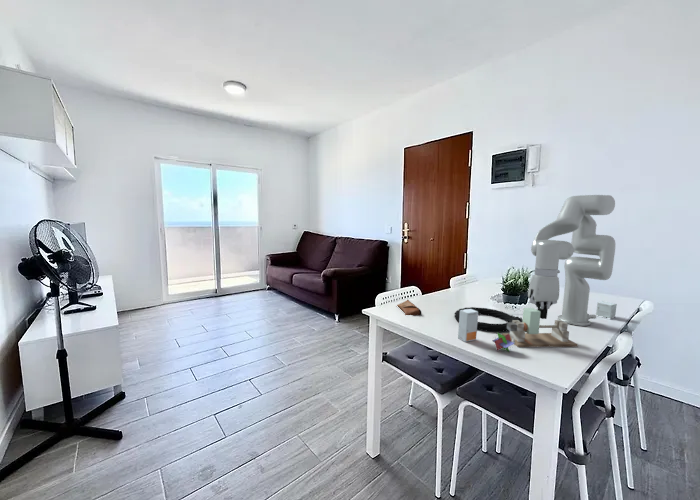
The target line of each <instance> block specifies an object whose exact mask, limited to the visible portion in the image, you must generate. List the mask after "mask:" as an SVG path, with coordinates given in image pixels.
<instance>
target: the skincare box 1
mask: <svg viewBox="0 0 700 500" xmlns="http://www.w3.org/2000/svg"><path fill="white" fill-rule="evenodd" d="M478 319H479V314H478V311H475V310H473V309H465V310H460V315H459V322H458V331H457V333H458V334H457V339H458V340H461V341H462V342H464V343H467V342H471V341H472V342H473V341H476V340H477V331H478V329H477V322H479V320H478Z"/></svg>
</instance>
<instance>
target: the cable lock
mask: <svg viewBox="0 0 700 500" xmlns="http://www.w3.org/2000/svg"><path fill="white" fill-rule="evenodd" d="M465 309H473V310H475V311H478V315H482V316H491V317H493V318H498V319H500V320H502V321H506V323H489V322H484V321H483V322H482V321H478V322H477V331H478V330H479V331H483V332H484V331H485V332H493V333H494V332H495V333H497V332H498V333H503V332H504V333H506V332H510V330H508V329H507V322H512V320H519V321H520V322H522V321H523V317H521V316H520V317H519V316H515V315H513V314H509V313H507V312H505V311H502V310H497V309H493V308H492V309H491V308H486V307H475V306H474V307H473V306H471V307H470V306H469V307H464V308H459V309H457V310H456V311H455V312H454V318H455V320H456V321H457V322H458V323H459V315H460V310H465Z"/></svg>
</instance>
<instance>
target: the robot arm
mask: <svg viewBox="0 0 700 500" xmlns="http://www.w3.org/2000/svg"><path fill="white" fill-rule="evenodd" d="M615 207H616V200H615V198H614V197H613V196H612V195H609V194H607V195H606V194H585V195H583V194H582V195H572V196H570V197H568V198H567V199H565V201H564V203H563V205H562V206H561V209H560V211H559V213H558V216H557V218H556V220H553V221H552V222H550V223H548V224H546V225H545V226H544V227H542V228H540V229H539V230H538V232H537V233H536V235H535V237H534V238H533V241H532V243H531V247H530V249H531V250H530V251H531V254H532V255H533V256H534V257H535V265H534V274H532V275H531V278H530V281H529V285H528V286H529V287H528V289H527V290H528V292H527V297H528V299H529V302H528V303H530V304H533V305H535V307H536V308H537V310H538V311H541V313H540V320H541V319H542V320H547V318H548V311H549V309H550V308H551V306H553V305H555V304H557V303H558V301H559V298H560V279H559V278H560V277H559V276H558V274H560V273H561V271H560V270H559V262H560V260H562V261H564V260H565V262H564V278H565V279H564V292H563V300H562V301H563V302H562V308H561V309H562V310H561V314H560V315H557V320H561V321H563V322H566V323H568V324H569V325H573V326H579V327H585V326H586V327H587V326H588V327H589V326H590V325H591V321H590V319H593V320H595V319H597V316H596V314H590V313H588V308H589V299H590V290H591V287H590V285H589V283H588V281H587V280H586V279H591V280H592V279H593V280H598V281H607V280H609V279H610V278H611V277H612V274H613V271H614V263H615V255H616V240H615V239H614V237H613V236H611V235H607V234H606V235H605V234H596V232H597V227H598V226H597V222H596V220H595V218H593V217H592V216H607V215H610V214H611V213H612V212H613V211H614V210H615ZM570 233H572V234H571V235H572V236H571V242H570V241H566V240H554V239H552V238H555V237H557V236H562V235H566V234H567V235H568V234H570ZM574 253H575V254H578V255H588V256H597V257H599V258H595V257H587V256H586V257H585V256H583V257H582V256H573V255H574Z"/></svg>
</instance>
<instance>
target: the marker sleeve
mask: <svg viewBox="0 0 700 500" xmlns="http://www.w3.org/2000/svg"><path fill="white" fill-rule="evenodd" d="M540 313H541V311H538V309H536V308H534V307H524V308H523V311H522V319H523V321H522V323H526V324H527V327H528V329H527V331H524V332H525V333H528V334H539V333H540V328H539V325H540V323H541V318H540Z"/></svg>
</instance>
